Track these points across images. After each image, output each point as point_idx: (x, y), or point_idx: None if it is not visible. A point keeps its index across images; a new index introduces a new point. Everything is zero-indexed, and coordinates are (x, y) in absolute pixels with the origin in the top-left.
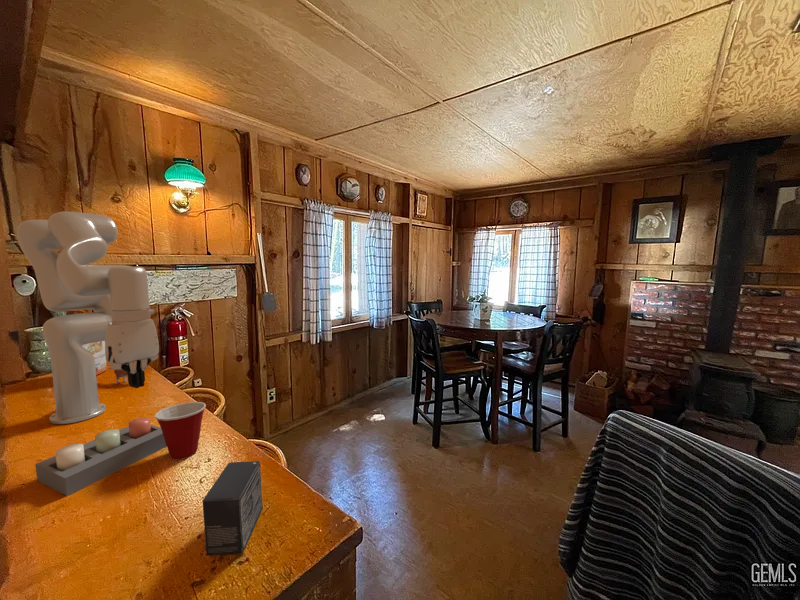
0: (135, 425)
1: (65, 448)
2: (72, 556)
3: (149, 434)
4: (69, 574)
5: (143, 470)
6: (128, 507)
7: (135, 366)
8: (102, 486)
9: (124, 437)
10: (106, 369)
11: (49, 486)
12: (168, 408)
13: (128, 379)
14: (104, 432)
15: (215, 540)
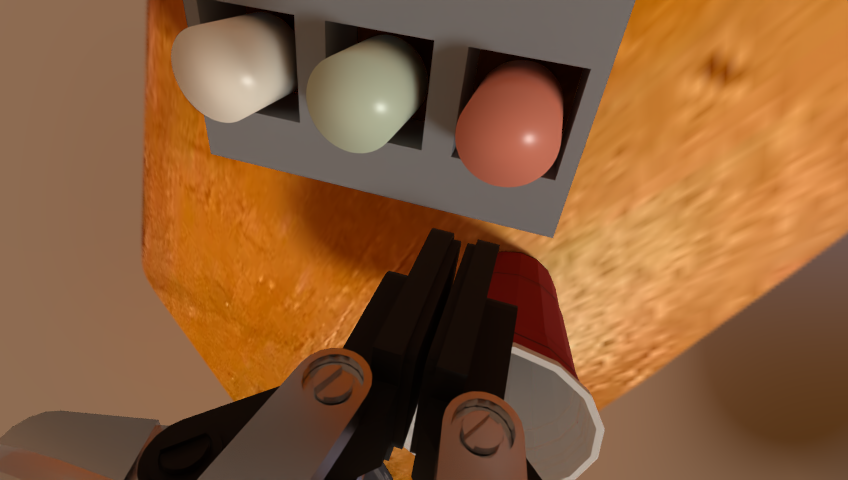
0: (461, 160)
1: (204, 50)
2: (206, 299)
3: None
4: (196, 320)
5: (402, 232)
6: (301, 300)
7: (439, 442)
8: (312, 184)
9: (449, 89)
10: None
11: None
12: (512, 350)
13: (370, 306)
14: (354, 73)
15: None
